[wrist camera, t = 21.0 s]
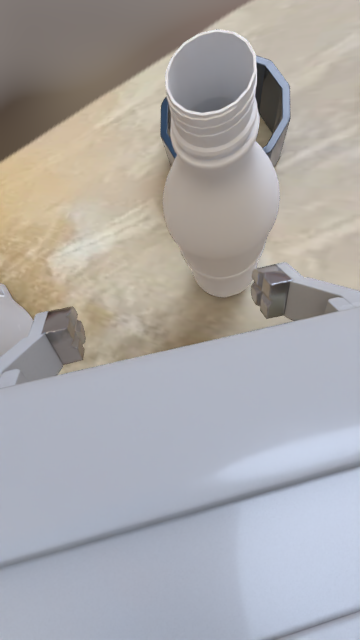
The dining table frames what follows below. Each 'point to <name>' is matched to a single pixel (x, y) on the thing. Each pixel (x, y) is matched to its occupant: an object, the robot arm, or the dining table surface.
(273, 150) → the dark grey faceted ring
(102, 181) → the dining table surface
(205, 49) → the water bottle
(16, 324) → the robot arm
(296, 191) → the dining table surface
